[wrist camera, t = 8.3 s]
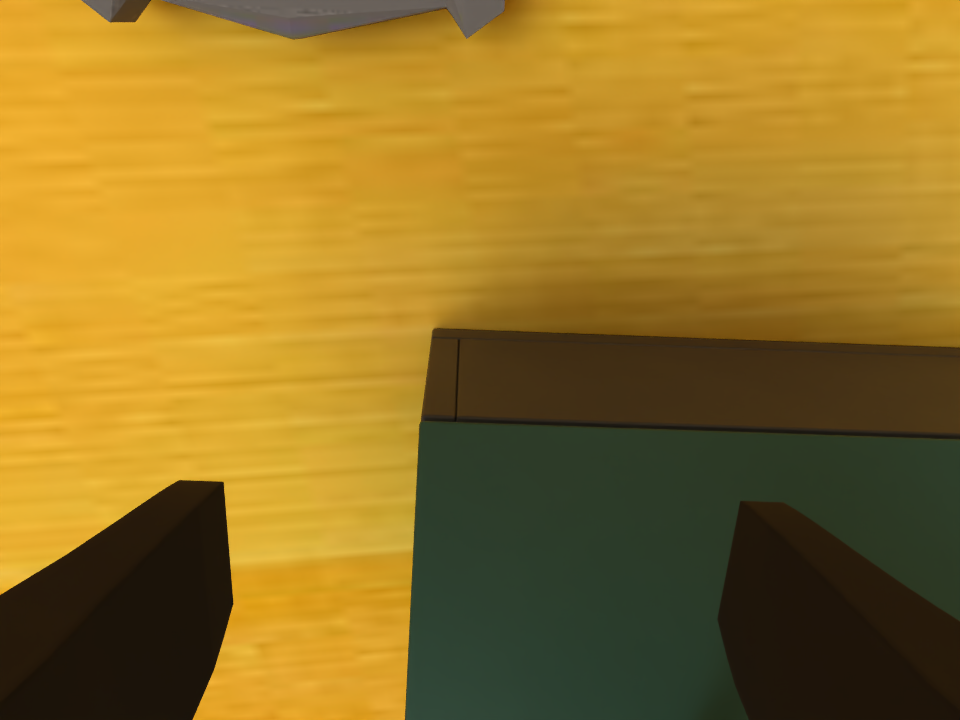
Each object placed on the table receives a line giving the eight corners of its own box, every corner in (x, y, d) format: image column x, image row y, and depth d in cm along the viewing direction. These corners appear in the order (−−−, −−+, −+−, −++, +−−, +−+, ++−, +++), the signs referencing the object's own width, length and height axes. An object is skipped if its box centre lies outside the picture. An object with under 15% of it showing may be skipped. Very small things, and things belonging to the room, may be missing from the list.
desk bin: (894, 632, 25) (995, 775, 20) (426, 619, 25) (415, 762, 20) (977, 347, 22) (1123, 439, 17) (432, 327, 21) (421, 415, 16)
